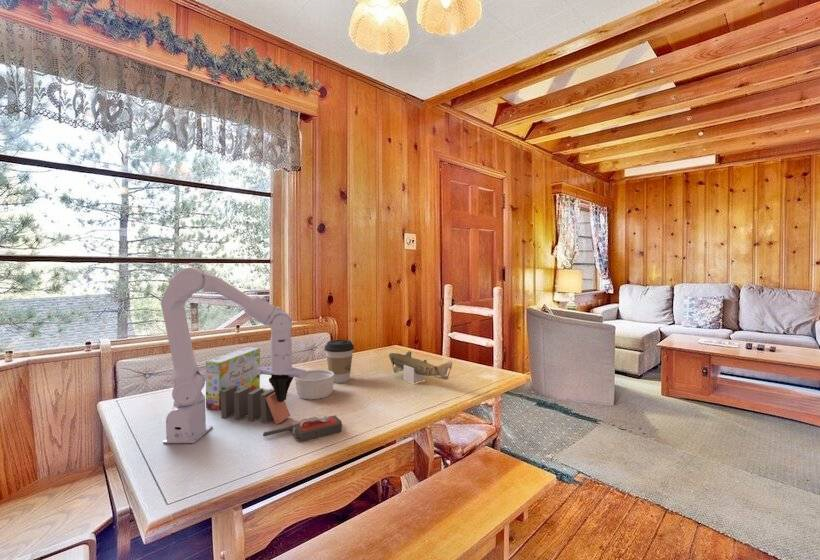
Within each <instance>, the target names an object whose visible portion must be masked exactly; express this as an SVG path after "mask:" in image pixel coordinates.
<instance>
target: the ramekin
mask: <svg viewBox="0 0 820 560" xmlns="http://www.w3.org/2000/svg"><path fill="white" fill-rule="evenodd" d="M333 379H334V373H333V372H332V371H329V370H327V369H310V370H309V369H308V370H306V377H304V378H299V377H294V381H295V387H296V392H297V393H296V394H297V396H299V398H301V399H303V400H311V401H312V399H314V400H320V398H321V399H324V398H326V397H329V396H331V394H332V393H333V389H334V388H333V387H334V386H333V385H334V383H333Z"/></svg>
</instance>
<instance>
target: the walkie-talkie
mask: <svg viewBox="0 0 820 560" xmlns="http://www.w3.org/2000/svg"><path fill="white" fill-rule="evenodd" d="M341 431H342V420H341V419H340V418H339V417H338V416H336V415H331V416H327V415H324V416H323V417H321V418H319V417H317V416H312V417H308V418H303V419H301V420H300V421H295V422H293V423H292V425H288V426H286V427H281V428H277V429H273V430H268V431H264V432H263V433H262V436H263V437H267V436H273V435H276V434H280V433H284V432H291V433H292V435H294V439H295V441H297V440H298V441H299V442H300V443H306V442H309V441H313V440H317V439H321V438H325V437H329V436H331V435H332V436H333V435H336V434H341V433H342V432H341ZM340 432H341V433H340Z"/></svg>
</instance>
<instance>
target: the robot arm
mask: <svg viewBox="0 0 820 560" xmlns="http://www.w3.org/2000/svg"><path fill="white" fill-rule="evenodd" d="M200 290H202V291H201V292H204V293H205V292H206V293H216V294H219V295H220V296H223V297H224V298H226V299H228V300H229V301H232V302H233V303H235V304H237V305H239V306H241V307H243V311H244V314H245V315H246V316H248V317H250V318H252V319H253V320H255V321H257V322H259V323H260V324H262V325H265V326H269V328H270V331H271V332H270V333H271V335H270V336H271V337H270V339H269V340H270V341H269V342H270V344H269V346H270V348H269V349H270V366H261V365H260V367H259V368H257V375H260V376H261V375H266V376H270V377H269V379H268V382H269V383H270V385H271V387H272V389H274V391H275V393H276V397H277V400H278V402H283V401H285V402H286V400H287V396H288V395H287V394H288V391H289V389H290V386H291V384H292V381H293V379H295V377H299V378H304V377H306V371H307V370H306V369H302V368H297V367H293V365H292V364H293V361H292V360H293V359H292V357H293V356H292V351H293V349H292V348H293V346H292V345H293V344H292V331H291V329H292V328H293V322H292V321H293V320H292V318H291V316H290V314H289V313H288V312H286V311H285V310H282V309H281V307H280V306H275V305H274V304H272V303H270V302H268V301H267V299H266V297H264V296H261V297H260V296H259V295H255V296H248V295H247V294H245V293H244V292H242V291H241V290H239V289H237V288H236V287H234V286H233V285H231V284H229V283H228V282H227V281H225V280H224V279H222V278H221V277H219V276H216V275H215V274H213V273H210V272H208V271H206V272H205V271H204V270H203V269H201V268H199V267H186V268H182V269H179V271H178V272H176V273H175V274H174V275H173V276H172V277H171V278H170V280H169V283H168V285H167V287H166V289H165V291H164V293H163V295H162V297H161V300H160V306H161V309H162V310H161V311H162V315H163V320H164V324H165V330H166V334H167V341H168V344H169V349H170V355H171V360H172V363H173V369H174V370H173V385H174V386H173V388H172V392H171V396H172V399H173V407H172V408H171V410H170V412H169V413H167V415H166V418H165V433H166V434H165V435H166V438H165V439H163V441H162V443H163V444H194V443H196V442H197V441H199V440H200V438H202V437H203V436H205V434H207V433H208V432H209V431H210V430H211V429H213V425H208V424H206V422H207V421H206V419H207V418H206V395H205V394H203V392H202V390H203V389H204V388H205V386H206V378H205V377H204V375H203V374H202V373H201V372H200V369H199V365H198V364H197V362H196V358H195V354H194V348H193V345H192V339H191V338H192V337H191V333H190V328H189V324H188V319H187V317H188V316H187V313H186V309H185V308H186V307H185V304H186V303H187V302H188V301H189V299H191V297H192V296H193V295H194V294H195V293H197V292H199V291H200Z"/></svg>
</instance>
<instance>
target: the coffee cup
mask: <svg viewBox="0 0 820 560" xmlns="http://www.w3.org/2000/svg"><path fill="white" fill-rule="evenodd" d="M354 349H355V345H354V344H353V342H352V340H349V339H331V340H329V341H327V342H326V345H325V346H324V349H323V350H324V351H325V354H326V355H325V356H326V361H327V369H328V371H332V372H333V373H334V379H333V384H345V383H347V381H348V382H349V381H350V377H351V370H352V369H351V368H352V359H353V353H354ZM344 382H345V383H344Z"/></svg>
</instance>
